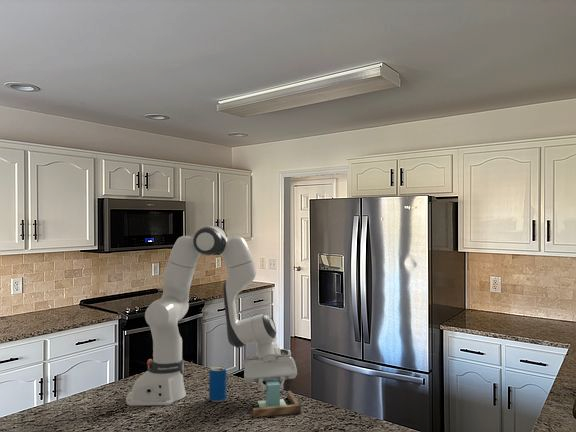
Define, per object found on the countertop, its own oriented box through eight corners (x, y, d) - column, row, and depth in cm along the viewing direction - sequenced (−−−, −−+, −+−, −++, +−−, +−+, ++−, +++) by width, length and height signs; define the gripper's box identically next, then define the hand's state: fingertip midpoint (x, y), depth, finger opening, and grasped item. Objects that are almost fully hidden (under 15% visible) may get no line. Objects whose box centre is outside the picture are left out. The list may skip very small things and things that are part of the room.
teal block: (267, 407, 165) (267, 385, 165) (265, 402, 169) (265, 381, 169) (279, 406, 166) (279, 384, 166) (277, 401, 170) (277, 380, 170)
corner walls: (253, 417, 157) (253, 410, 157) (247, 400, 172) (247, 394, 172) (300, 412, 161) (300, 405, 161) (290, 397, 175) (290, 390, 176)
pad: (261, 412, 161) (261, 411, 161) (257, 401, 171) (257, 401, 171) (289, 409, 163) (289, 409, 163) (283, 399, 173) (283, 398, 173)
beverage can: (222, 403, 169) (223, 371, 169) (206, 402, 170) (206, 370, 171) (228, 397, 175) (228, 366, 176) (212, 395, 177) (213, 365, 177)
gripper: (242, 353, 172) (246, 388, 162) (294, 350, 177) (300, 384, 167) (241, 362, 176) (244, 396, 166) (291, 358, 181) (297, 391, 171)
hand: (273, 390), depth 167 cm, fingers open, 5 cm apart
